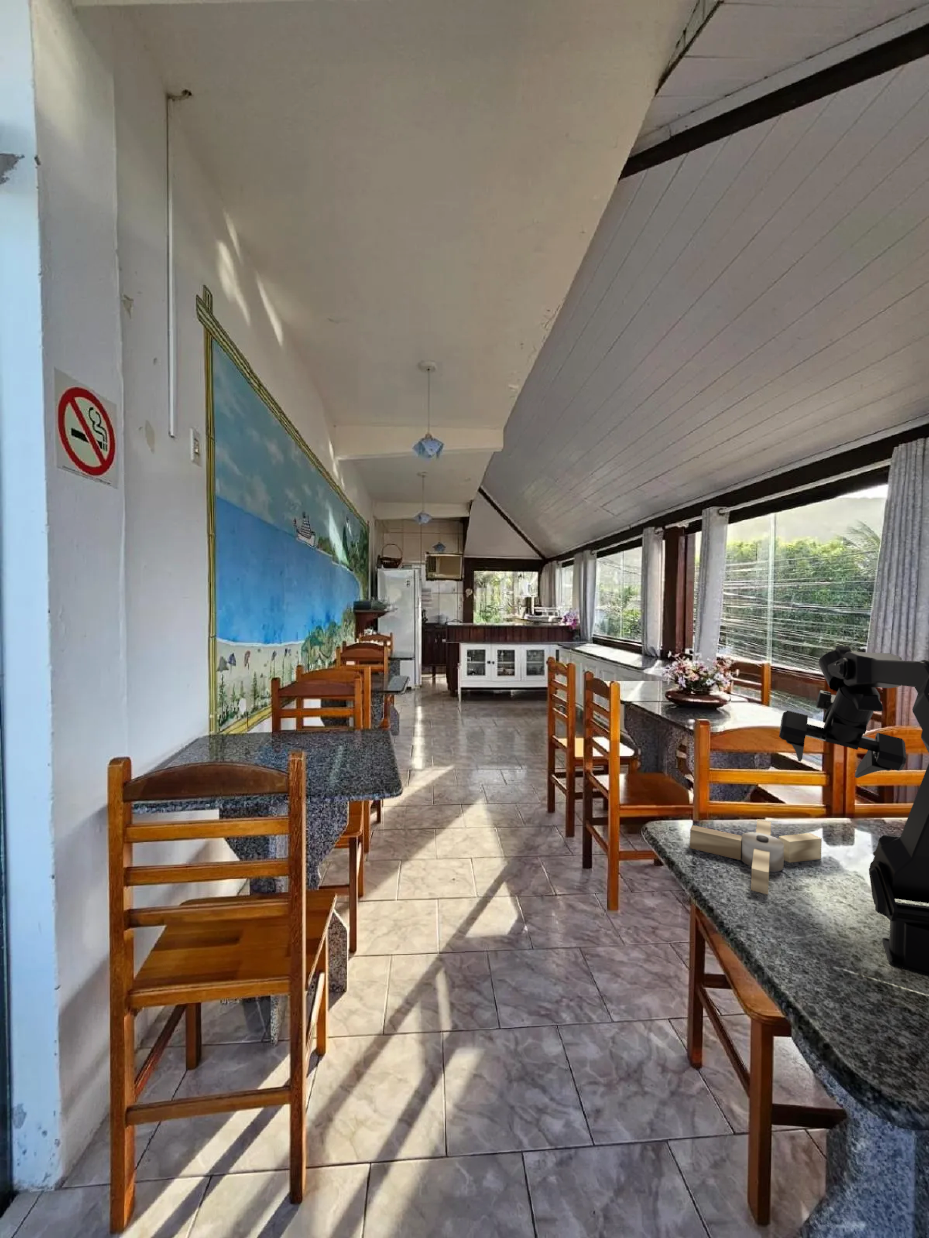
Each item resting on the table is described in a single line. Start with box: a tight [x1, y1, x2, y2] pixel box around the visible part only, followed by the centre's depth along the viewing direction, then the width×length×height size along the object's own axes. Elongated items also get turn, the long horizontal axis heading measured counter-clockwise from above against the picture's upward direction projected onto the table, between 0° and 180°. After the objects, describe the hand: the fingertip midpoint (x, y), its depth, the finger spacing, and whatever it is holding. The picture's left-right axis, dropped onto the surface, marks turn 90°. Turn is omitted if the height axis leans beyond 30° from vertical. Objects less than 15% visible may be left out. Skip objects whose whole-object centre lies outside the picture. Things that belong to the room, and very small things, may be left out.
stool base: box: [689, 818, 785, 895], centre depth 101 cm, size 25×16×5 cm, turn 149°
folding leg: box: [778, 832, 823, 863], centre depth 101 cm, size 8×2×4 cm, turn 104°
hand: (827, 767), depth 100 cm, fingers open, 9 cm apart
